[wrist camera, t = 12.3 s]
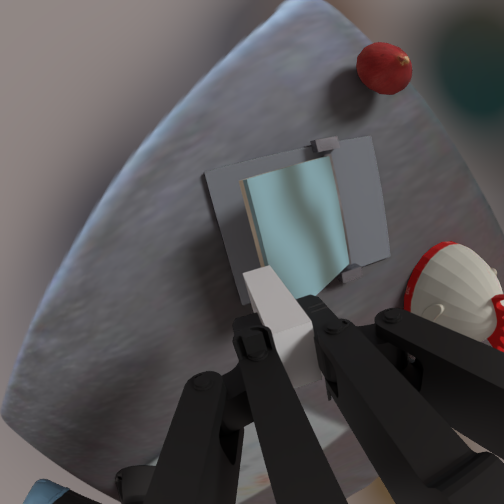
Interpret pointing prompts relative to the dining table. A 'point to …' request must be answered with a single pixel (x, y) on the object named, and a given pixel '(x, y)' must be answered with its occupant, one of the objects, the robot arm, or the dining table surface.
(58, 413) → the dining table surface
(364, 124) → the dining table surface
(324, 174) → the flap
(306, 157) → the base plate
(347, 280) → the hinge blocks
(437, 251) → the kitchen timer
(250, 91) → the dining table surface
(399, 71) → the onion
